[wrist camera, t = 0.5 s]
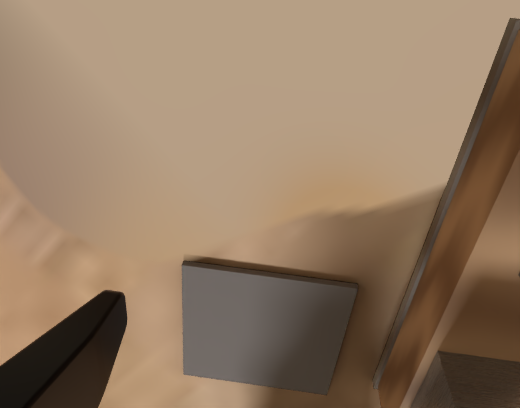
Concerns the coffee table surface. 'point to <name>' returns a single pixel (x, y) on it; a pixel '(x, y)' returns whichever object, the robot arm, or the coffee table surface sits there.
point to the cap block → (469, 383)
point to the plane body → (467, 248)
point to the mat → (263, 326)
